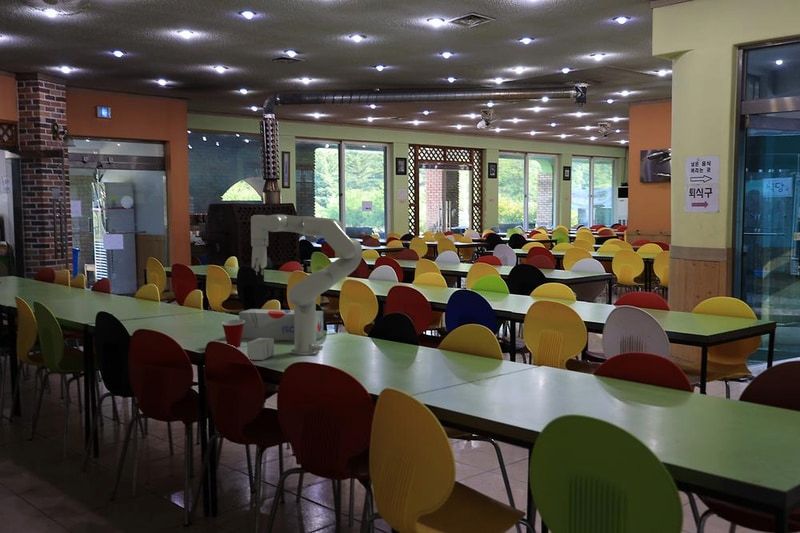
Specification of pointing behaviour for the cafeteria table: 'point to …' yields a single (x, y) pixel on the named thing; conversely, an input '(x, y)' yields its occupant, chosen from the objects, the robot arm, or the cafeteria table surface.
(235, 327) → the plastic cup
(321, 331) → the soda pack
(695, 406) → the cafeteria table surface
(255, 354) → the supplement box
